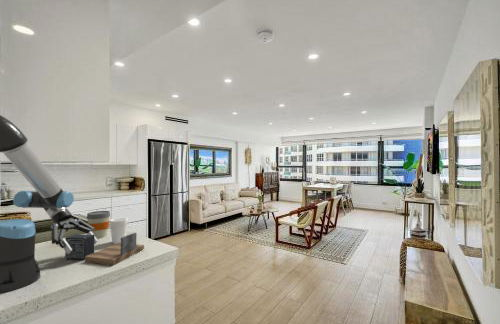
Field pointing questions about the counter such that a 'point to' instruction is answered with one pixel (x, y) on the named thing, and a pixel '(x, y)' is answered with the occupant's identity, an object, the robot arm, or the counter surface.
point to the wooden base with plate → (116, 251)
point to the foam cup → (118, 229)
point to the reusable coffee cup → (99, 222)
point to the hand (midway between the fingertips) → (83, 247)
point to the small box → (80, 246)
